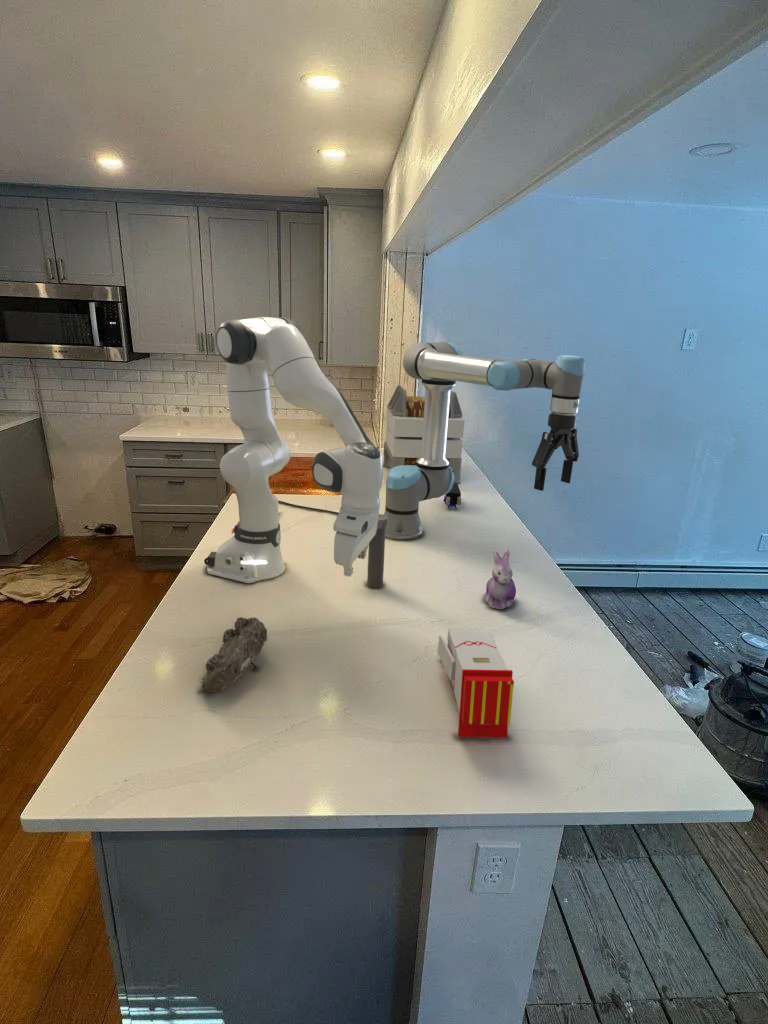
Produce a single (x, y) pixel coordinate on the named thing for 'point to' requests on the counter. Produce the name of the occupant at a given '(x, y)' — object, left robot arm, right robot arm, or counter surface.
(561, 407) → the right robot arm
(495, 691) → the toy
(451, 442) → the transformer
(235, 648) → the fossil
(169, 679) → the counter surface
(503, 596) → the figurine
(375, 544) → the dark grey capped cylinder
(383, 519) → the lid
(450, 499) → the figurine character
